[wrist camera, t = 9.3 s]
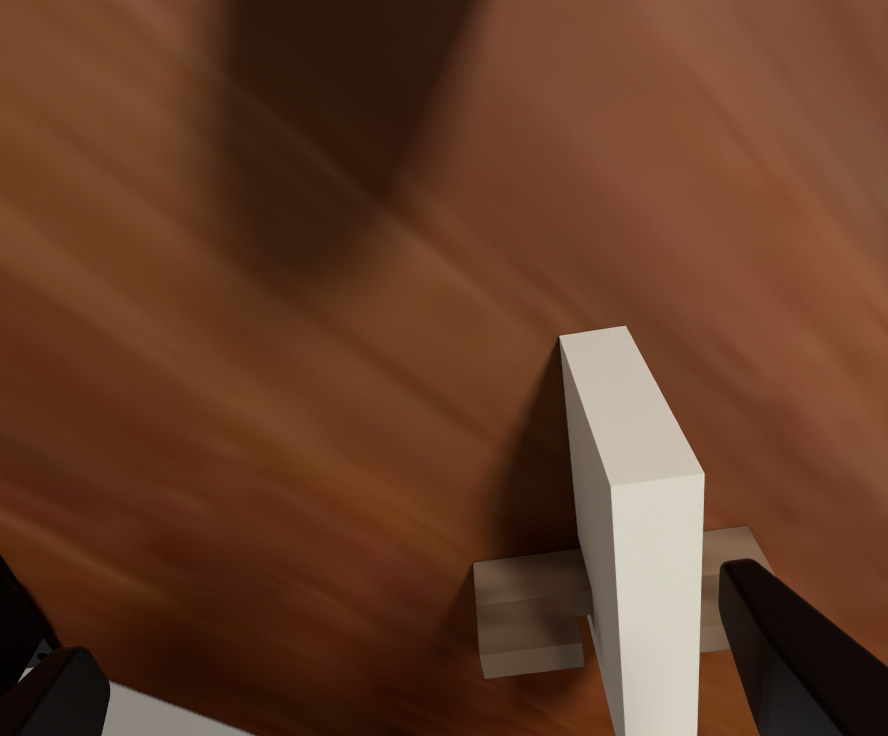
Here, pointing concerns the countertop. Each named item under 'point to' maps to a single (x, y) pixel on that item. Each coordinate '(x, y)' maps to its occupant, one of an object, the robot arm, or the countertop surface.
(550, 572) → the brown wooden flat piece
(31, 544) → the countertop surface
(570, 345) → the cream plate
